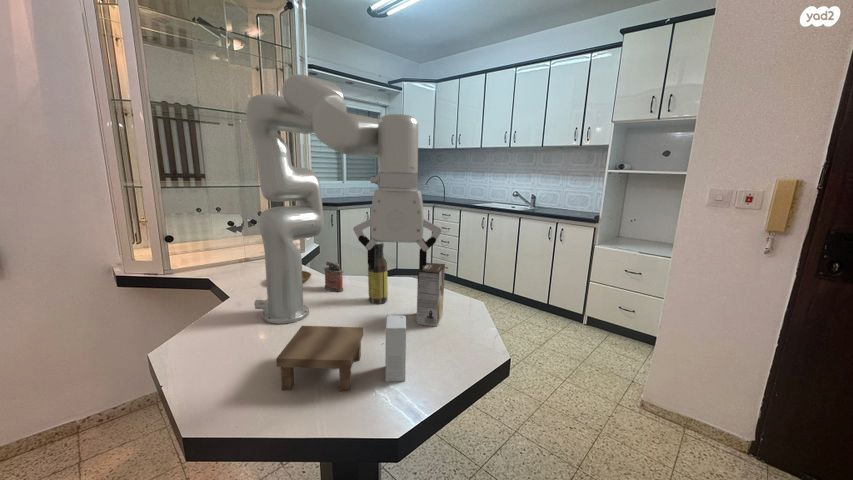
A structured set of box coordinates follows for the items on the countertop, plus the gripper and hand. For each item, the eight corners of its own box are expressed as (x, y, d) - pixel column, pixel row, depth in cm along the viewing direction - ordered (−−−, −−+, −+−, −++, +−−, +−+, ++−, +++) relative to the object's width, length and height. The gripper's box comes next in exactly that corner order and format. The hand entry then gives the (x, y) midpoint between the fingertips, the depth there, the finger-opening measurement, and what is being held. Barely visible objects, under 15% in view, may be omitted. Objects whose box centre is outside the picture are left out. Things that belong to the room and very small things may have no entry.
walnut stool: (278, 391, 66) (276, 358, 65) (303, 353, 80) (301, 325, 78) (351, 393, 66) (350, 360, 65) (363, 355, 80) (363, 327, 79)
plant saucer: (262, 288, 122) (262, 281, 121) (277, 276, 136) (277, 269, 136) (305, 289, 123) (305, 282, 122) (315, 276, 137) (315, 270, 137)
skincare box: (385, 365, 76) (386, 315, 74) (404, 365, 76) (406, 315, 74) (384, 382, 70) (385, 328, 68) (405, 382, 70) (407, 327, 68)
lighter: (345, 290, 122) (345, 263, 120) (338, 293, 119) (337, 265, 117) (329, 285, 126) (329, 259, 124) (322, 288, 123) (321, 261, 122)
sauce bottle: (381, 296, 118) (381, 239, 114) (391, 302, 113) (392, 243, 109) (364, 300, 114) (364, 241, 110) (374, 306, 109) (374, 245, 105)
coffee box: (422, 312, 106) (424, 261, 103) (443, 314, 105) (445, 263, 101) (415, 324, 97) (417, 270, 94) (438, 327, 96) (440, 272, 93)
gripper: (348, 182, 62) (350, 272, 65) (443, 184, 63) (440, 274, 66) (356, 181, 70) (357, 263, 73) (441, 183, 70) (439, 264, 73)
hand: (397, 268), depth 69 cm, fingers open, 9 cm apart
